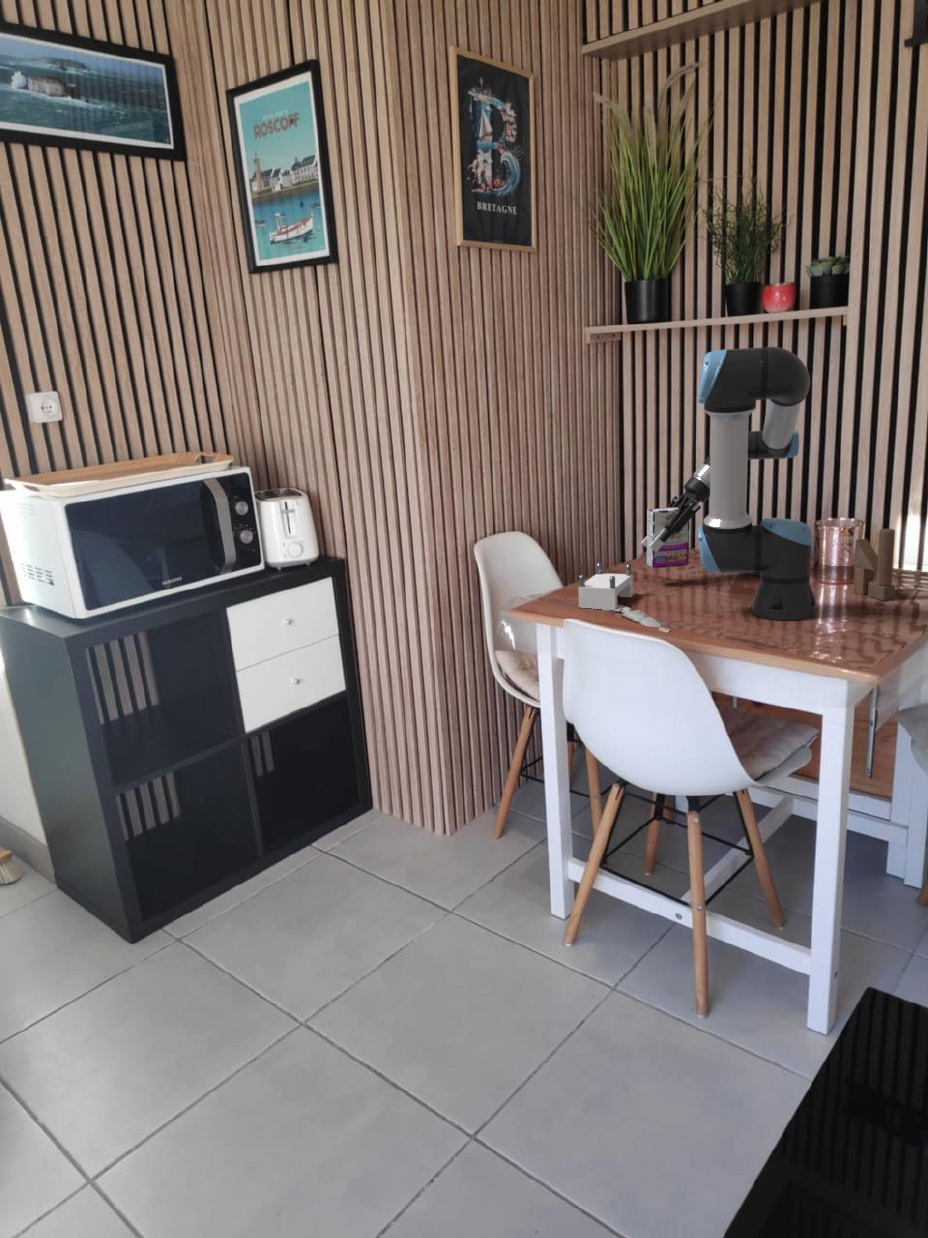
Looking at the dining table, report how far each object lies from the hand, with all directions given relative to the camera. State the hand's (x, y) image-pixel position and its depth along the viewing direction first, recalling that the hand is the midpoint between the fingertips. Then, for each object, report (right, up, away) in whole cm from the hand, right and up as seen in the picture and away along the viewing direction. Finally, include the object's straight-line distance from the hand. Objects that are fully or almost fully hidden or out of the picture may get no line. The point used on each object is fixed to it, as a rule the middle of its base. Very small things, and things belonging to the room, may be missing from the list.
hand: (648, 547), depth 257 cm
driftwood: (-10, -20, -22) cm, 31 cm away
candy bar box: (+6, -5, +3) cm, 8 cm away
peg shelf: (-14, -16, -9) cm, 23 cm away
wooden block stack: (+54, -14, -21) cm, 60 cm away
